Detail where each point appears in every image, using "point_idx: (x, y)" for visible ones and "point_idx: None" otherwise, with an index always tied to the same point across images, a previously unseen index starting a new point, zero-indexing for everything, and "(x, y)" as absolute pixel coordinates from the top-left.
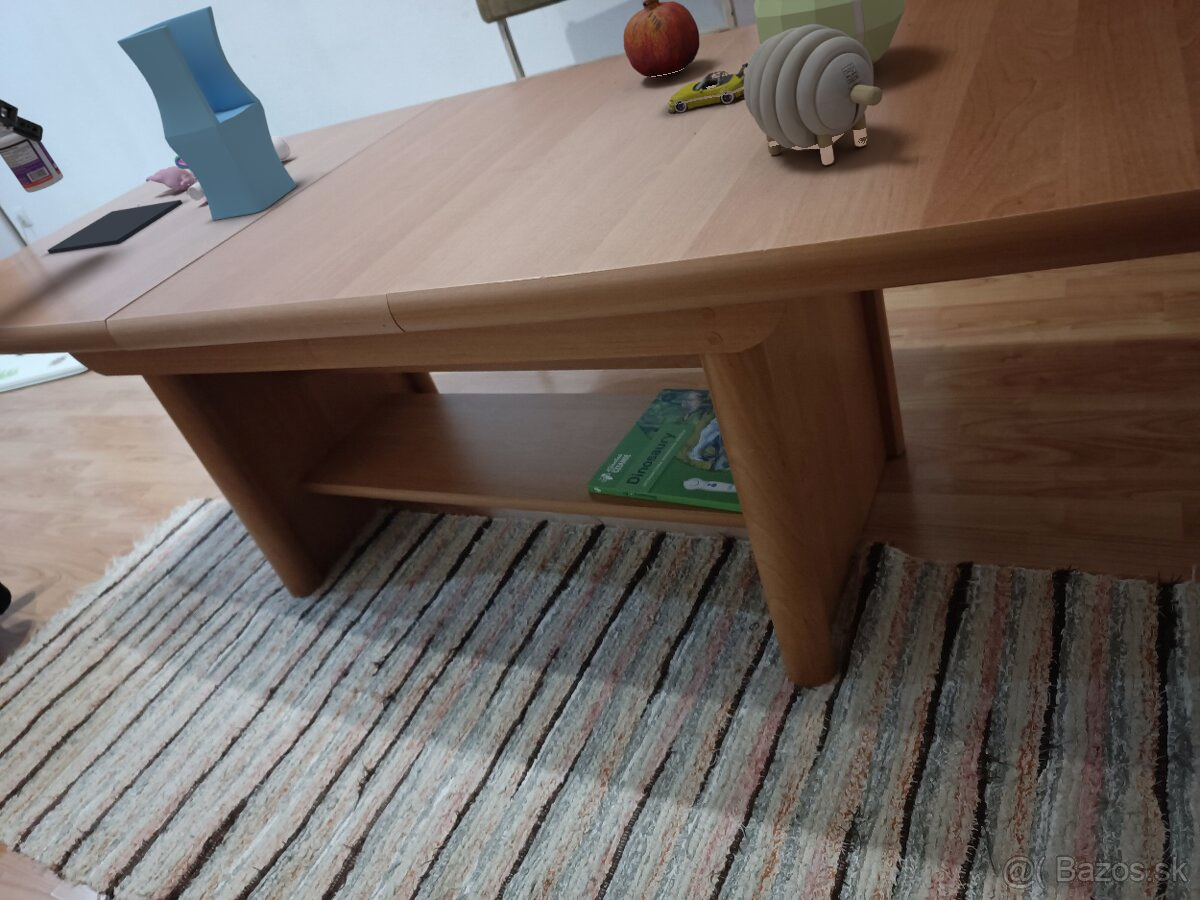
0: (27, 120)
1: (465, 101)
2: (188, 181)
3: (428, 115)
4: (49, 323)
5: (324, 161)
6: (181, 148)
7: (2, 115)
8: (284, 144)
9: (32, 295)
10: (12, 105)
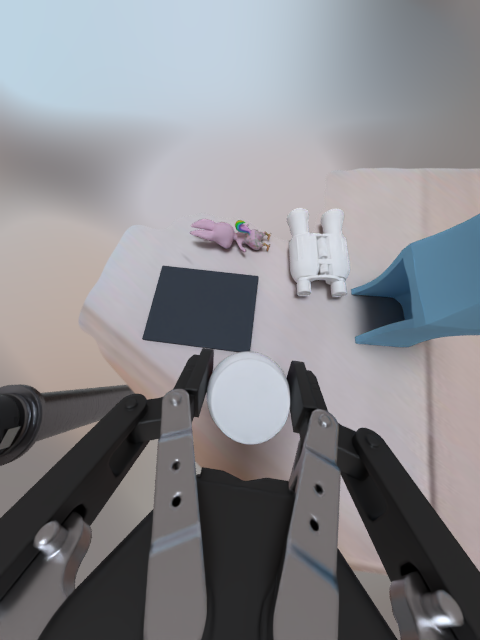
0: (309, 383)
1: (461, 185)
2: (242, 242)
3: (440, 197)
4: None
5: (390, 251)
6: (427, 329)
7: (231, 372)
8: (343, 219)
9: (225, 457)
10: (395, 456)
